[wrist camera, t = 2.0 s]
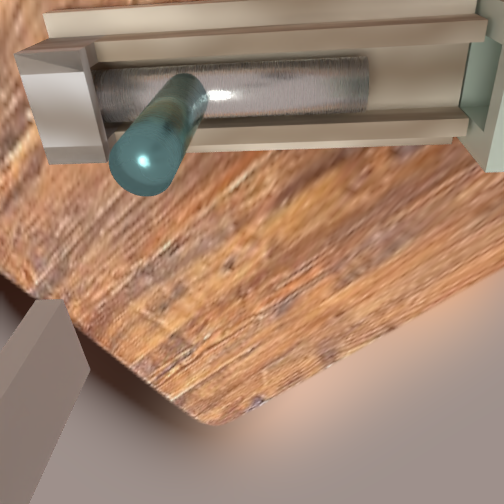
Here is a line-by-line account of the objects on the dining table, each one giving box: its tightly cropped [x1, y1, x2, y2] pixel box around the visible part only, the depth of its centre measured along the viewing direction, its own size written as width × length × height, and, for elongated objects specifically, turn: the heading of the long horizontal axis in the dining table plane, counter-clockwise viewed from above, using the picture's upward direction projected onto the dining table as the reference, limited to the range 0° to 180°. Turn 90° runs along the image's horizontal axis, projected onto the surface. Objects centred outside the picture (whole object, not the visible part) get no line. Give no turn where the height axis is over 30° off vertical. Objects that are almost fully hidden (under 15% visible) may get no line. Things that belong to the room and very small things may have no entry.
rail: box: [14, 0, 488, 165], centre depth 31 cm, size 10×28×6 cm, turn 94°
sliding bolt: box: [91, 56, 369, 196], centre depth 27 cm, size 3×20×14 cm, turn 94°
